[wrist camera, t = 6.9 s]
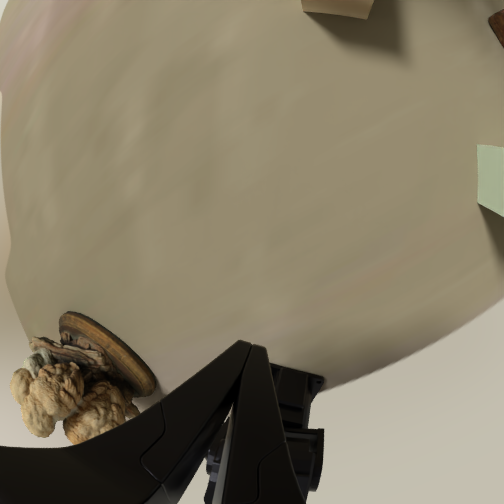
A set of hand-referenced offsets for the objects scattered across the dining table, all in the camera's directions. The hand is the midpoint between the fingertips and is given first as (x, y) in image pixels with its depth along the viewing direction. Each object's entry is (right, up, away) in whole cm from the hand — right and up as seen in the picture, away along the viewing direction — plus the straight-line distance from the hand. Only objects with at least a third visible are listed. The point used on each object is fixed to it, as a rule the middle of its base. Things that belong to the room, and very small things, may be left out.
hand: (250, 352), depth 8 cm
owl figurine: (-21, -11, +25) cm, 34 cm away
